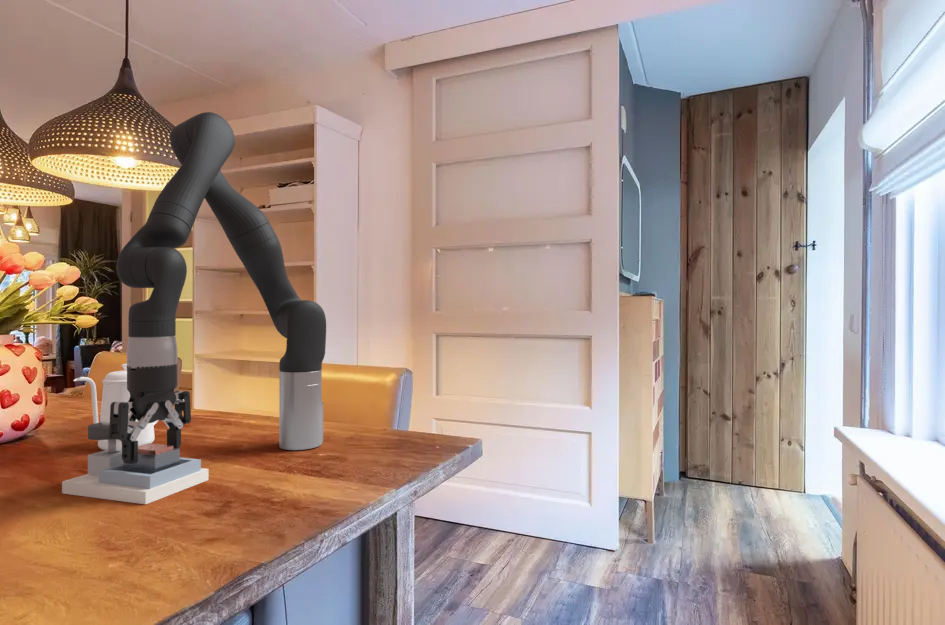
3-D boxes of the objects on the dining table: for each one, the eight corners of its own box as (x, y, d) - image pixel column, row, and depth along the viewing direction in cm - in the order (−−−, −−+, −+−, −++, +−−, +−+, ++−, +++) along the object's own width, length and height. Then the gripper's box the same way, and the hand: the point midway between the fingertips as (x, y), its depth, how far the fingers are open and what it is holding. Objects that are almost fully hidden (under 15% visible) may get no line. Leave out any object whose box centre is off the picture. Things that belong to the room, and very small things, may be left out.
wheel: (115, 447, 99) (115, 416, 99) (144, 450, 97) (144, 418, 97) (77, 456, 92) (77, 423, 92) (108, 460, 90) (108, 425, 90)
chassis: (131, 471, 102) (132, 442, 102) (208, 479, 96) (208, 449, 96) (62, 493, 89) (62, 460, 89) (145, 504, 84) (145, 469, 84)
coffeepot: (51, 459, 110) (52, 368, 110) (148, 433, 134) (148, 359, 134) (95, 462, 108) (96, 370, 108) (185, 435, 132) (186, 359, 132)
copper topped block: (149, 470, 95) (149, 442, 95) (179, 474, 93) (179, 444, 93) (123, 478, 91) (123, 448, 91) (155, 482, 89) (155, 452, 89)
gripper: (169, 358, 100) (169, 445, 100) (96, 366, 86) (96, 466, 86) (202, 359, 98) (202, 447, 98) (132, 367, 84) (133, 469, 84)
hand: (153, 456), depth 92 cm, fingers open, 8 cm apart
